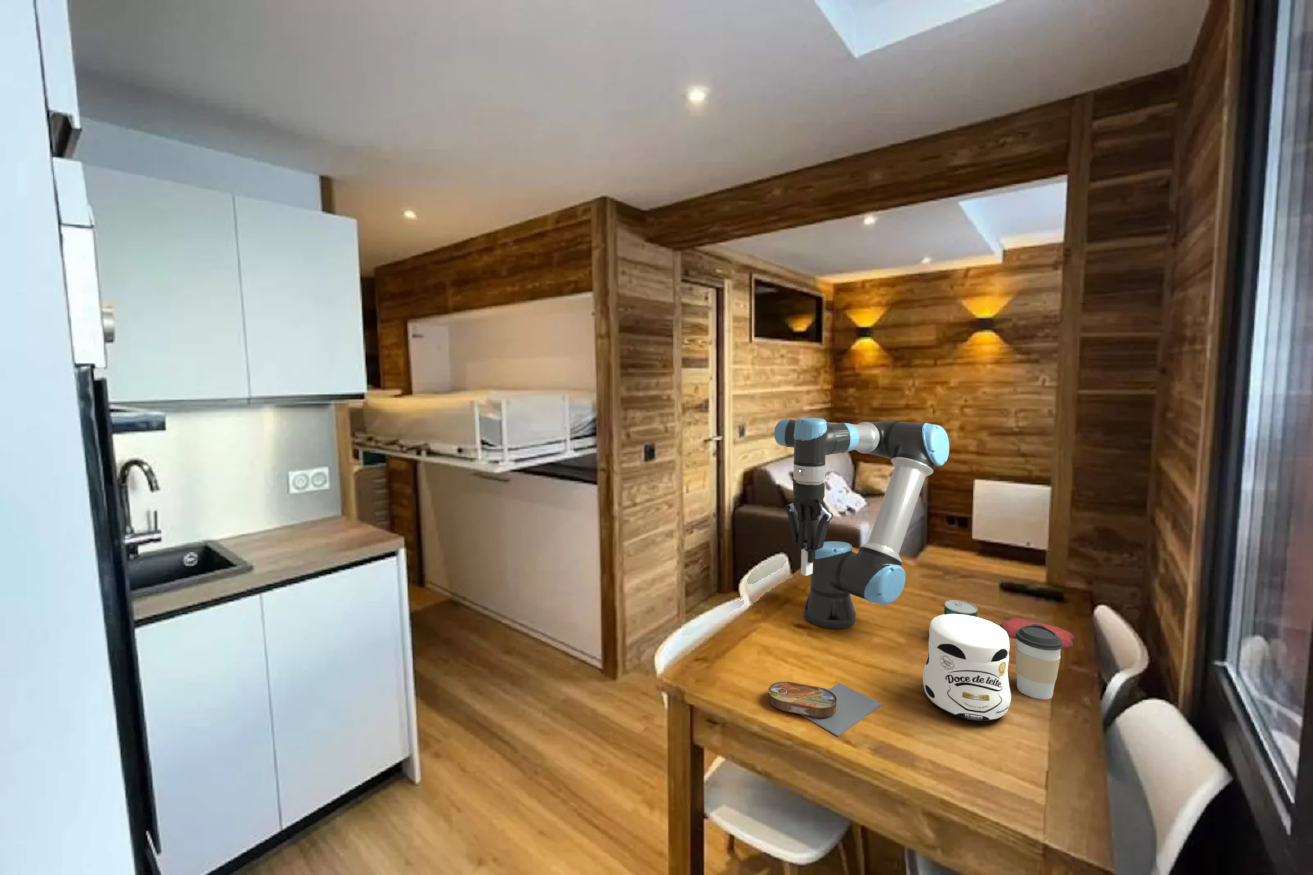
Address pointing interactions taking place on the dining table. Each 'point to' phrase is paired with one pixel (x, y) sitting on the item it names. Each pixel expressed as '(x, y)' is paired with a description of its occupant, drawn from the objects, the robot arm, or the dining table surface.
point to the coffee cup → (1037, 660)
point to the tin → (802, 699)
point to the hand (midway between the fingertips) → (806, 573)
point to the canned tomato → (960, 608)
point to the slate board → (846, 710)
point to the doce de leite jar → (968, 667)
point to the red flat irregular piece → (1018, 623)
